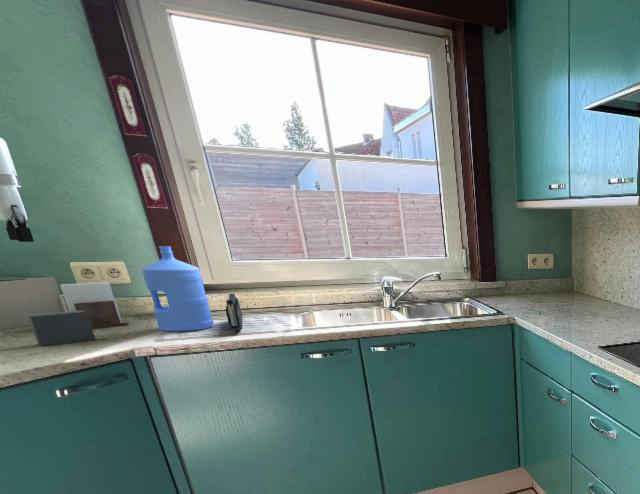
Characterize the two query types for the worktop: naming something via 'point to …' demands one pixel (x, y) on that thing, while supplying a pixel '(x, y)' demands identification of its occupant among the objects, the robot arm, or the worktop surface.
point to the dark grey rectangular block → (61, 327)
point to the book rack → (98, 313)
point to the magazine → (234, 313)
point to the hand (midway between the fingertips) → (22, 240)
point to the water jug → (178, 294)
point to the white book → (87, 293)
